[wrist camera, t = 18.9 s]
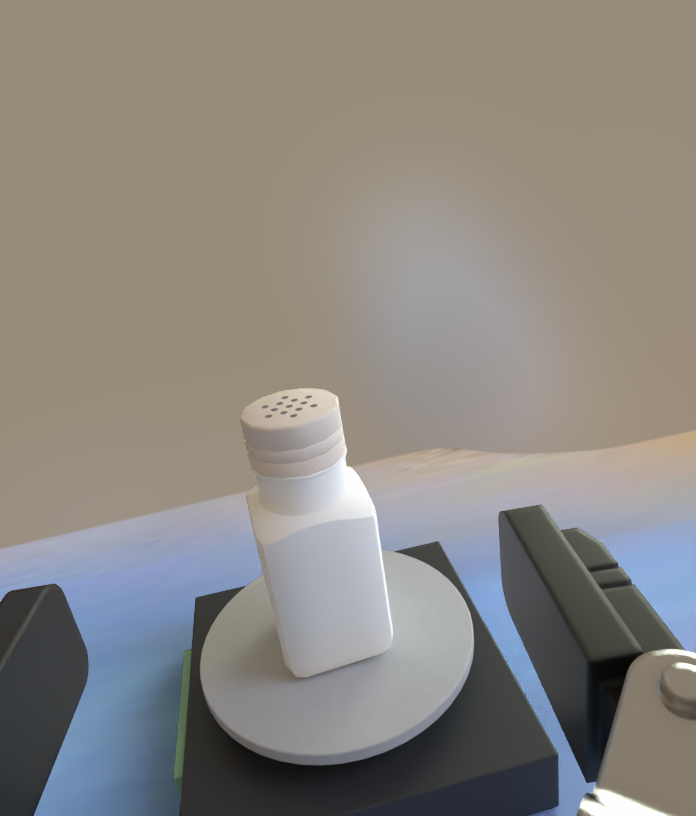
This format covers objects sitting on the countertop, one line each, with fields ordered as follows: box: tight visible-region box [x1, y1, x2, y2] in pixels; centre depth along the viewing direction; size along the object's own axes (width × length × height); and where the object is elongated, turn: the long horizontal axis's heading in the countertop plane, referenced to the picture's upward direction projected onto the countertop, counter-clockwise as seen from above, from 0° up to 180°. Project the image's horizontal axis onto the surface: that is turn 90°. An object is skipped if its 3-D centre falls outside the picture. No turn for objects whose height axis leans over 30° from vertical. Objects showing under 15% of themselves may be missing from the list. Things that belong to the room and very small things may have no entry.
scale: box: [173, 542, 559, 816], centre depth 24 cm, size 12×12×4 cm
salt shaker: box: [240, 388, 393, 677], centre depth 22 cm, size 4×4×10 cm
